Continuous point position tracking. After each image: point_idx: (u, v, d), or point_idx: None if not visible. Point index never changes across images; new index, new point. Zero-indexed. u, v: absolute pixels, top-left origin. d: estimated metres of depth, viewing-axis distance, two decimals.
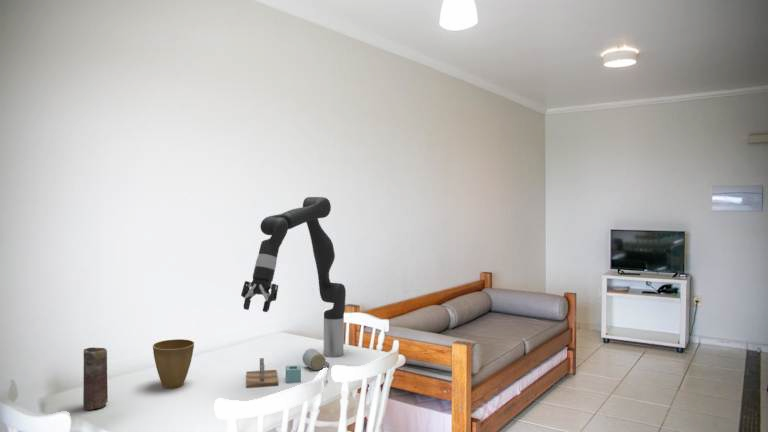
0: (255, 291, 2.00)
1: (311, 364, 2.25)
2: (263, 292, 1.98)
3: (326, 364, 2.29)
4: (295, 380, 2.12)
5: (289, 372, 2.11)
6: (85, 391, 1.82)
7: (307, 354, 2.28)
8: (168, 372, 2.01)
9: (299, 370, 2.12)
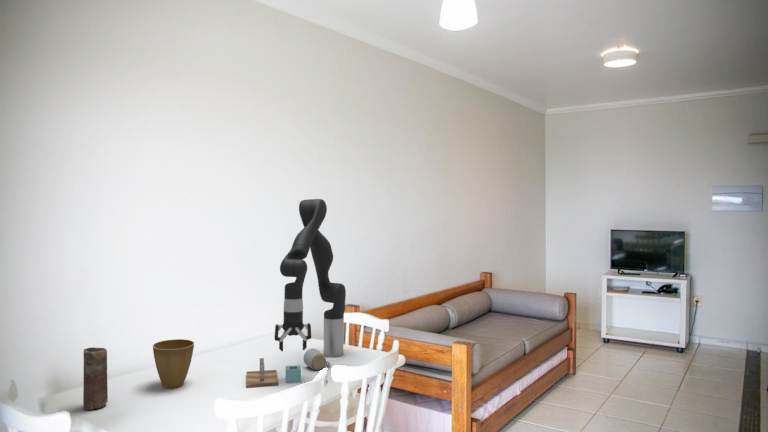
0: (290, 333, 2.12)
1: (312, 364, 2.25)
2: (301, 334, 2.13)
3: (327, 364, 2.30)
4: (295, 380, 2.12)
5: (289, 372, 2.11)
6: (85, 391, 1.82)
7: (308, 354, 2.29)
8: (168, 372, 2.01)
9: (299, 370, 2.12)
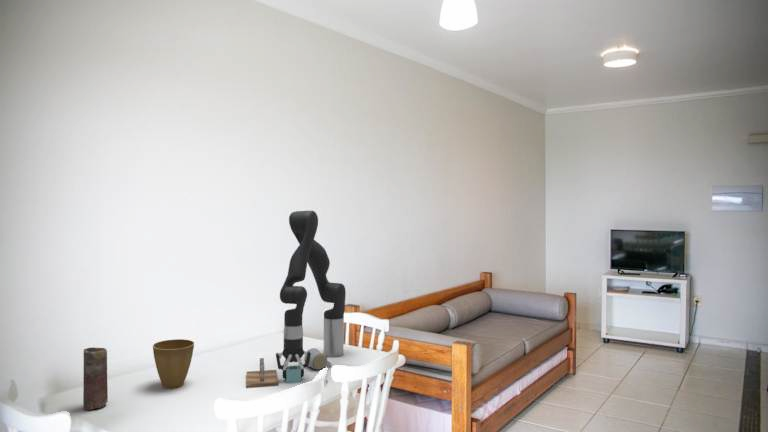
0: (291, 360, 2.13)
1: (313, 364, 2.25)
2: (299, 361, 2.13)
3: (328, 364, 2.30)
4: (295, 380, 2.12)
5: (289, 372, 2.11)
6: (85, 391, 1.82)
7: None
8: (168, 372, 2.01)
9: (299, 370, 2.12)
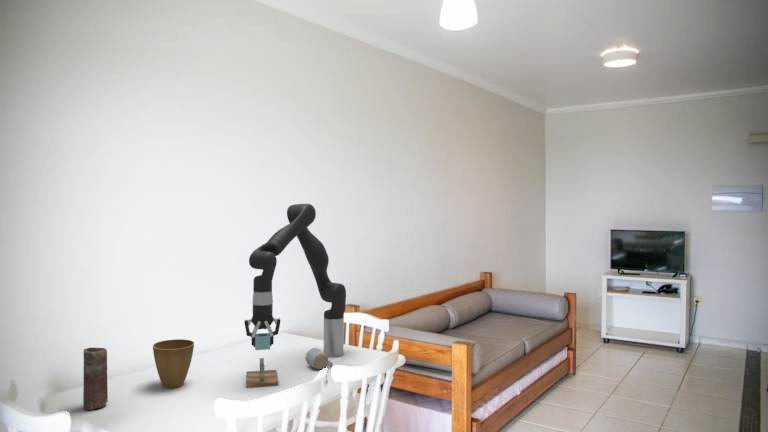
0: (261, 327, 2.08)
1: (314, 363, 2.25)
2: (269, 328, 2.08)
3: (329, 363, 2.30)
4: (264, 347, 2.07)
5: (258, 339, 2.06)
6: (85, 391, 1.82)
7: (310, 353, 2.29)
8: (168, 372, 2.01)
9: (268, 337, 2.07)
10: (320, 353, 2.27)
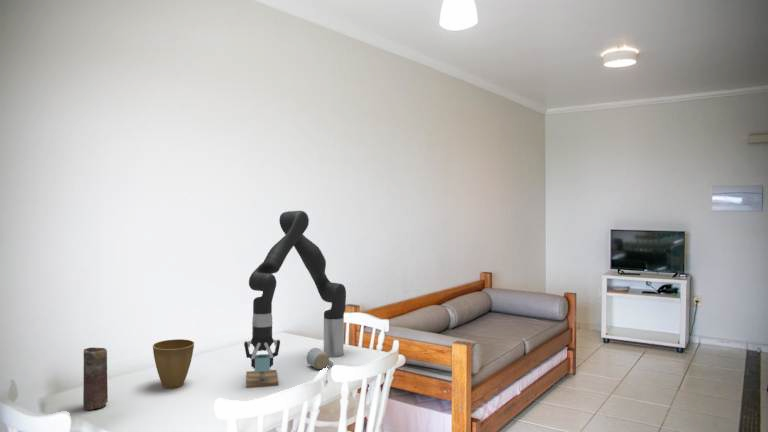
0: (260, 348, 2.08)
1: (315, 363, 2.26)
2: (268, 350, 2.08)
3: (330, 363, 2.30)
4: (264, 369, 2.07)
5: (258, 361, 2.06)
6: (85, 391, 1.82)
7: (311, 353, 2.30)
8: (168, 372, 2.01)
9: (268, 359, 2.07)
10: (321, 353, 2.28)
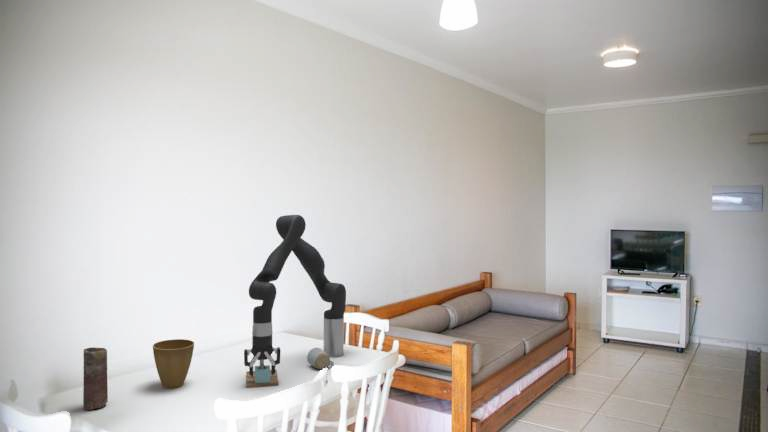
0: (260, 358, 2.08)
1: (316, 363, 2.26)
2: (269, 358, 2.08)
3: (330, 363, 2.31)
4: (264, 380, 2.07)
5: (258, 372, 2.07)
6: (85, 391, 1.82)
7: (312, 353, 2.30)
8: (168, 372, 2.01)
9: (268, 370, 2.07)
10: (321, 353, 2.28)
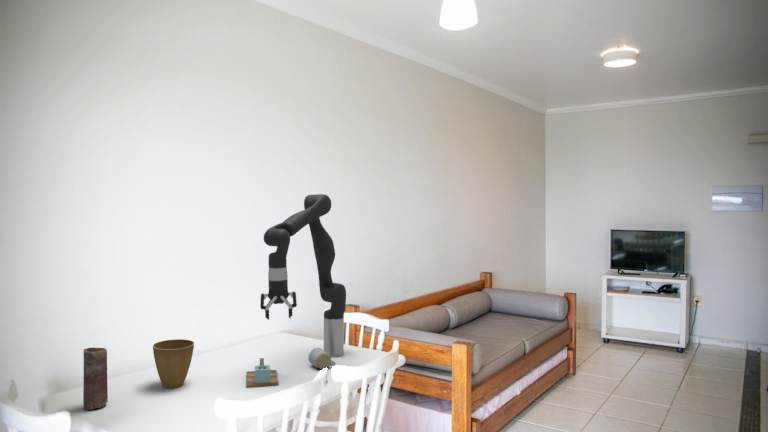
0: (275, 302, 2.15)
1: (317, 363, 2.26)
2: (286, 302, 2.16)
3: (332, 363, 2.31)
4: (264, 380, 2.07)
5: (258, 372, 2.07)
6: (85, 391, 1.82)
7: (313, 353, 2.30)
8: (168, 372, 2.01)
9: (268, 370, 2.07)
10: (323, 353, 2.28)
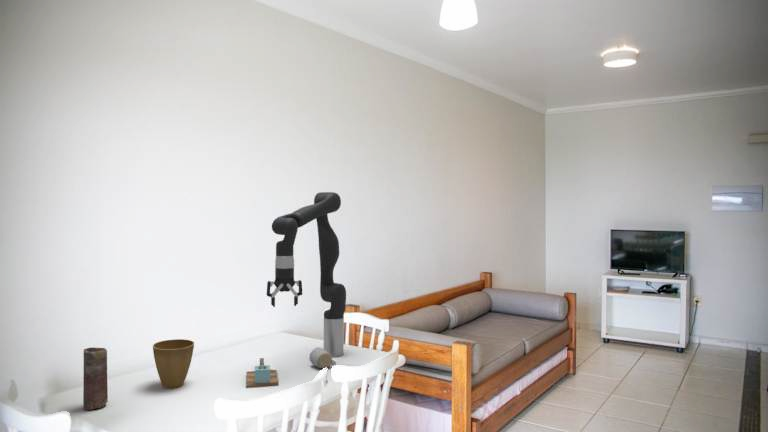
0: (282, 289, 2.19)
1: (318, 363, 2.26)
2: (292, 290, 2.19)
3: (333, 363, 2.31)
4: (264, 380, 2.07)
5: (258, 372, 2.07)
6: (85, 391, 1.82)
7: (314, 353, 2.30)
8: (168, 372, 2.01)
9: (268, 370, 2.07)
10: (324, 352, 2.28)
